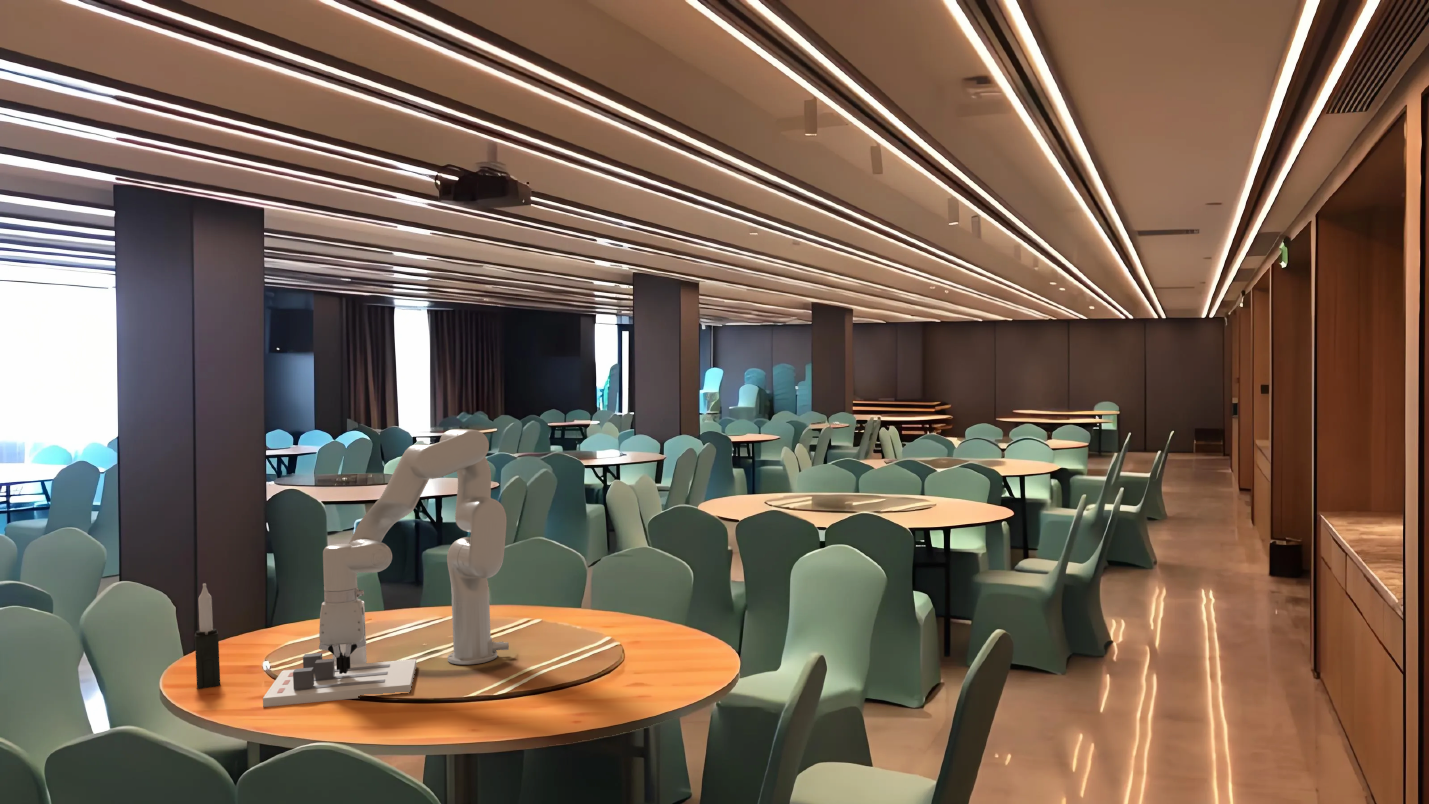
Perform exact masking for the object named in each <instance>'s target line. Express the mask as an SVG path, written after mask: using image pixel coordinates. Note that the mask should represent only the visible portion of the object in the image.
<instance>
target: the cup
mask: <svg viewBox="0 0 1429 804" xmlns="http://www.w3.org/2000/svg"><path fill="white" fill-rule="evenodd" d="M361 601H362V605H363V611H364V620H365V621H366V612H365V611H366V609H365V601H364V600H361ZM365 640H366V641H367V636H366V631H365ZM352 644H353V643H352ZM340 649H341V652H342V654H343V655H344V653H345V650H346V644H340ZM332 659H334V666H337V665H336V657H335V656H334V655H333V654H332ZM367 659H368V658H367V644H366V645H365V646H363V647H360V648H357V649H355V650H354V651H353V652H352V654H351V655H350V665H353V664H364V663H366V662H367ZM367 663H368V662H367Z"/></svg>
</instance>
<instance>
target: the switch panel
mask: <svg viewBox="0 0 1429 804" xmlns="http://www.w3.org/2000/svg"><path fill="white" fill-rule="evenodd" d="M322 659H323V652H317V653H316V652H315V653H305V654H304V655H303V656H302V664H303V666H302V667H303V668H294V669H286V670H285V669H284V670H282V671H281V672H280V673H279V675H278V676H277V677H276V679H275V680H274V681H273V683H272V685H271V686H270V688H268V690H267V692H266V693H265V694H264V696H263V698H262V707H263V708H266V707H277V706H278V707H279V706H289V705H298V704H309V703H319V702H320V703H321V702H322V703H323V702H330V701H341V700H342V701H343V700H352V699H359V698H358V696H360V695H364V694H383V693H395V692H410V690H411V691H412V688H411V686H412V687H413V684H412V682H413V683H414V679H413V678H415V675H416V671H415V669H417V658H412V659H403V660H402V659H401V660H392V661H391V660H390V661H389V660H388V661H387V660H386V661H378V662H367V663H364V664H353V665H350V669H348V671H347V673H346V674H344V673H342V674H339V670H337V666H334V667H335V676H334V678H331V679H320V680H315V662H316V660H322ZM414 674H415V675H414Z"/></svg>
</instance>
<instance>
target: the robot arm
mask: <svg viewBox="0 0 1429 804" xmlns="http://www.w3.org/2000/svg"><path fill="white" fill-rule="evenodd" d="M489 447H490V442H489V440H488V437H487V436H486V435H485V434H484V433H483V432H481V431H480V430H477V429H467V428H465V429H464V428H453V429H449V430H447V431H445V432H443V434H442V435H441V436H440V439H439V442H436V443H432V444H424V443H417V444H413V445H409V447H407V448H406V449H405V450H404V453H402V456H401V458H400V460H399V461H398V463H397V466H396V467H395V469H394V471H393V473H392V475H391V476H390V479H389V481H388V483H387V484H386V487H385V488H384V490H383V492H382V494H381V495H380V497H379V498H378V499H377V500H376V501H375V503H374V504H373V505H372V506H371V508H369V510H368V511H367V512H366V513H364V516H363V517H362V518H361V520H360V521H359V523H358V524H357V526H356V528H355V530H354V531H353V534H352V535H351V538H350V540H349V542H348V543H337V544H331V545H330V544H329V545H327V546H325V547H324V549H323V551H322V564H323V565H322V567H323V568H322V569H323V585H324V586H323V591H324V593H323V594H324V596H323V597H324V601H323V602H322V603H321V607H320V614H319V628H318V629H319V630H318V631H319V634H318V636H319V637H318V638H319V644H318V645H319V646H318V650H321V651H328V652H330V653H331V654H332V656H333V655H334V656H335V657H336V665H337V670H339V674H342V673H344V674H346V673H347V671H348V669H350V655H351V654H352V652H353V651H354V650H355V649H357V648H360V647H363V646H365V645H366V646H367V639H366V640H365V632H366V619H365V620H364V611H363V605H362V601H363V600H362V599H361V598H359V597H361V596H365V590H364V589H359V588H358V587H359V586H358V574H359V573H368V574H369V573H379V572H383V571H384V570H386V569H387V568H388V567H389V566H390V564H391V563H392V560H393V553H392V550H391V548H390V547H389V546H388V545H387V544H386V543H384V542H382V541H383V539H384V538H385V536H386V534H387V533H388V531H389V530H390V529H391V528H392V527H393V526H394V524H396V523H397V522H399V521H400V520H402V519H404V518H405V517H407V516H409V515H410V514H411V513H412V512H413V511H414V509H415V508H416V506H417V504H418V502H419V500H420V498H421V496H422V494H423V492H424V490H425V488H426V486H427V484H428V482H429V480H431V479H432V480H434V479H435V480H436V479H439V478H444V477H445V476H448V475H451V474H453V473H456V475H457V491H456V492H457V493H456V501H455V503H456V504H455V515H454V517H455V518H454V519H455V524H456V526H457V527H458V528H459V529H460V530H462V531H464V532H468V533H470V536H469V537H468V536H466V537H465V536H464V537H461V538H459V539H457V540H454V542H452V544H451V545H450V547H449V548H448V550H447V555H446V562H447V564H446V565H447V569H448V575H449V580H450V587H451V588H450V589H451V590H450V591H451V592H450V593H451V614H452V619H451V620H452V639H453V640H452V642H453V643H452V644H453V645H452V646H453V652H452V653H450V654H448V655H447V662H449V663H450V664H453V665H454V664H455V665H460V666H461V665H463V666H464V665H477V664H482V663H483V664H484V663H487V662H491V661H494V660H495V659H496V658H498V652H497V651H507V650H510V649H509V642H508V641H507V642H506V641H505V642H504V641H498V642H497V641H493V637H492V636H491V614H490V613H491V612H490V611H491V610H490V609H491V608H490V607H491V606H490V588H489V582H488V579H490V578H492V577H494V576H495V575H497V574H498V573H499V571H500V570H501V567H502V566H503V562H504V557H505V548H506V536H507V535H506V534H507V523H508V522H507V520H508V519H507V514H506V511H505V508H504V506H503V504H501V502H499V501H498V500H497V499H494V498H492V497H491V494H492V472H491V468H490V464H489V462H488V460H487V454H488V452H489ZM352 643H353V644H352ZM340 644H346V650H345V653H344V655H343V654H342V652H341V649H340Z"/></svg>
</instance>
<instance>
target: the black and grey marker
mask: <svg viewBox="0 0 1429 804" xmlns="http://www.w3.org/2000/svg"><path fill="white" fill-rule="evenodd" d="M212 598H213V597H212V595H211V594H210V593H209V590H208V588H207V583H206V582H205V583H204V582H203V583H202V589H201V593H200V594H199V597H198V598H197V599H198V625H199V630H196V631H195V633H194V644H195V645H194V647H195V671H196V672H195V673H196V676H195V677H196V689H198V690H199V689H200V690H202V689H207V688H215V687H220V686H221V667H220V647H219V646H220V644H219V640H220V639H219V632H218V631H219V630H218V629H217V628H214V623H213V619H214V618H213V599H212Z"/></svg>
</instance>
